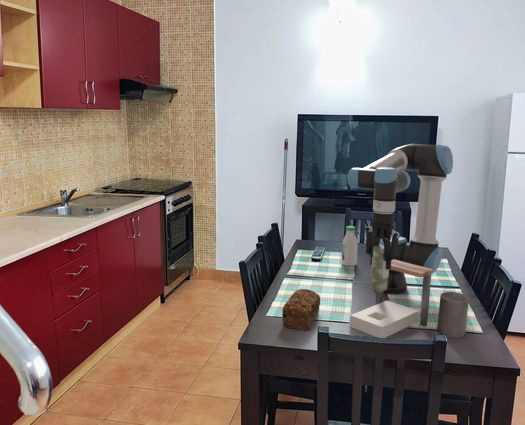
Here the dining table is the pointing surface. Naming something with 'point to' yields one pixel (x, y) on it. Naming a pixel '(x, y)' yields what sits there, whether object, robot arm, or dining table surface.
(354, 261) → the milk bottle
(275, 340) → the dining table surface
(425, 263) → the robot arm
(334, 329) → the dining table surface
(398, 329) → the socket stand
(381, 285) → the peg
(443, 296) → the pillar candle
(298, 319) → the bread
